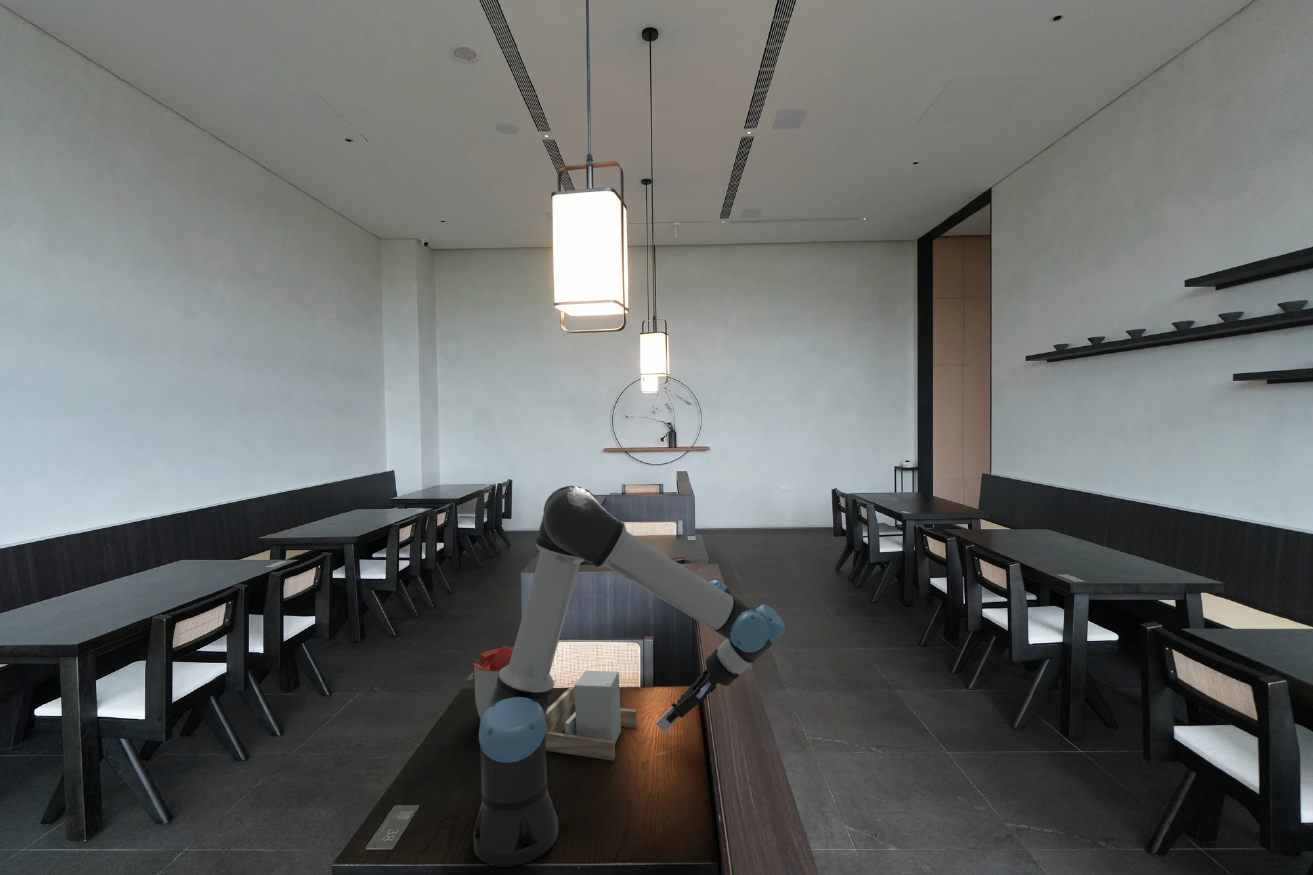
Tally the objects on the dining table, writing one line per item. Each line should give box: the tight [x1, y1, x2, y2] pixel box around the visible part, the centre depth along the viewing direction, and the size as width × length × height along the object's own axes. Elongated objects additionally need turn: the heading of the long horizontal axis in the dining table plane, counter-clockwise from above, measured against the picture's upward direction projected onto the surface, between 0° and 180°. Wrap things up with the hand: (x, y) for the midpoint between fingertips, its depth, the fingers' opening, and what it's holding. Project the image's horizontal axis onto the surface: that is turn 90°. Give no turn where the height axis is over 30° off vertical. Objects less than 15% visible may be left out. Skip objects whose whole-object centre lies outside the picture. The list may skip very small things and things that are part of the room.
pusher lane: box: [545, 686, 638, 761], centre depth 143 cm, size 16×18×8 cm
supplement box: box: [573, 670, 622, 744], centre depth 142 cm, size 9×9×15 cm
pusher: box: [564, 712, 577, 735], centre depth 144 cm, size 13×1×6 cm, turn 162°
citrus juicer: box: [467, 645, 514, 721], centre depth 151 cm, size 16×17×20 cm
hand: (660, 726), depth 138 cm, fingers closed
